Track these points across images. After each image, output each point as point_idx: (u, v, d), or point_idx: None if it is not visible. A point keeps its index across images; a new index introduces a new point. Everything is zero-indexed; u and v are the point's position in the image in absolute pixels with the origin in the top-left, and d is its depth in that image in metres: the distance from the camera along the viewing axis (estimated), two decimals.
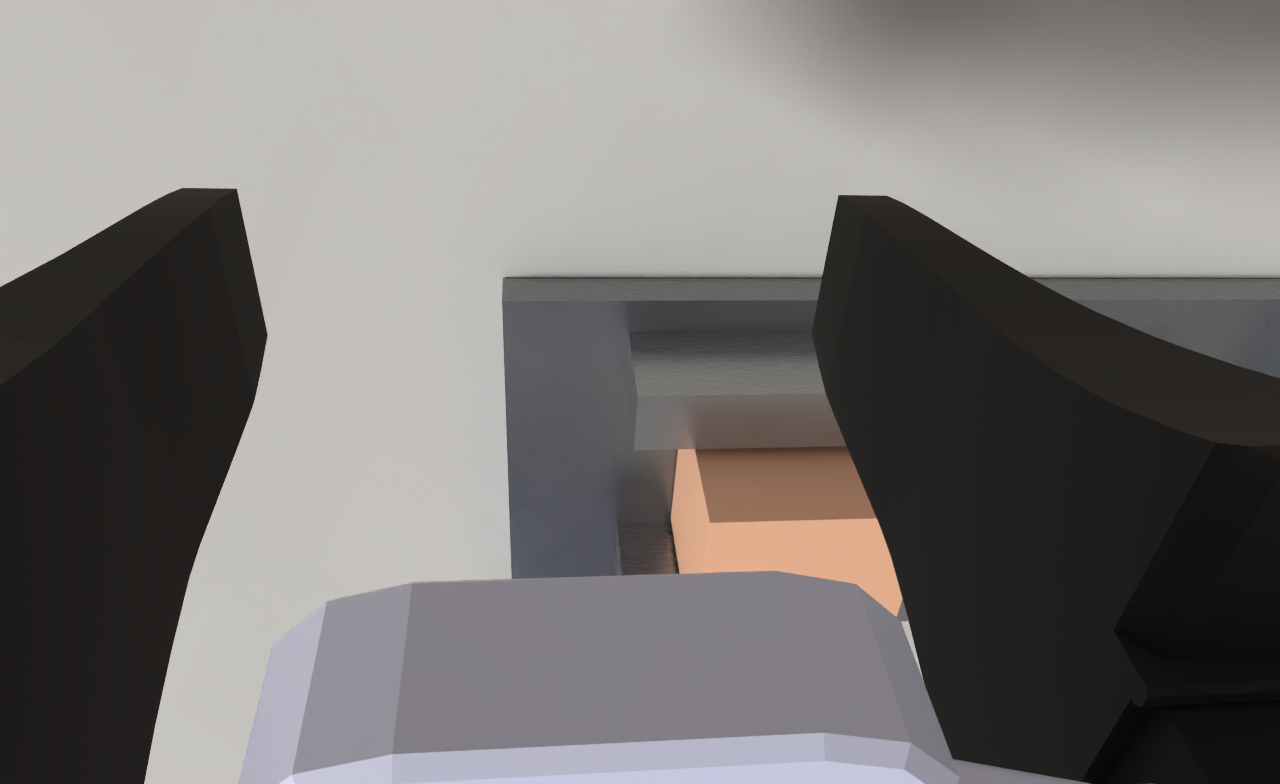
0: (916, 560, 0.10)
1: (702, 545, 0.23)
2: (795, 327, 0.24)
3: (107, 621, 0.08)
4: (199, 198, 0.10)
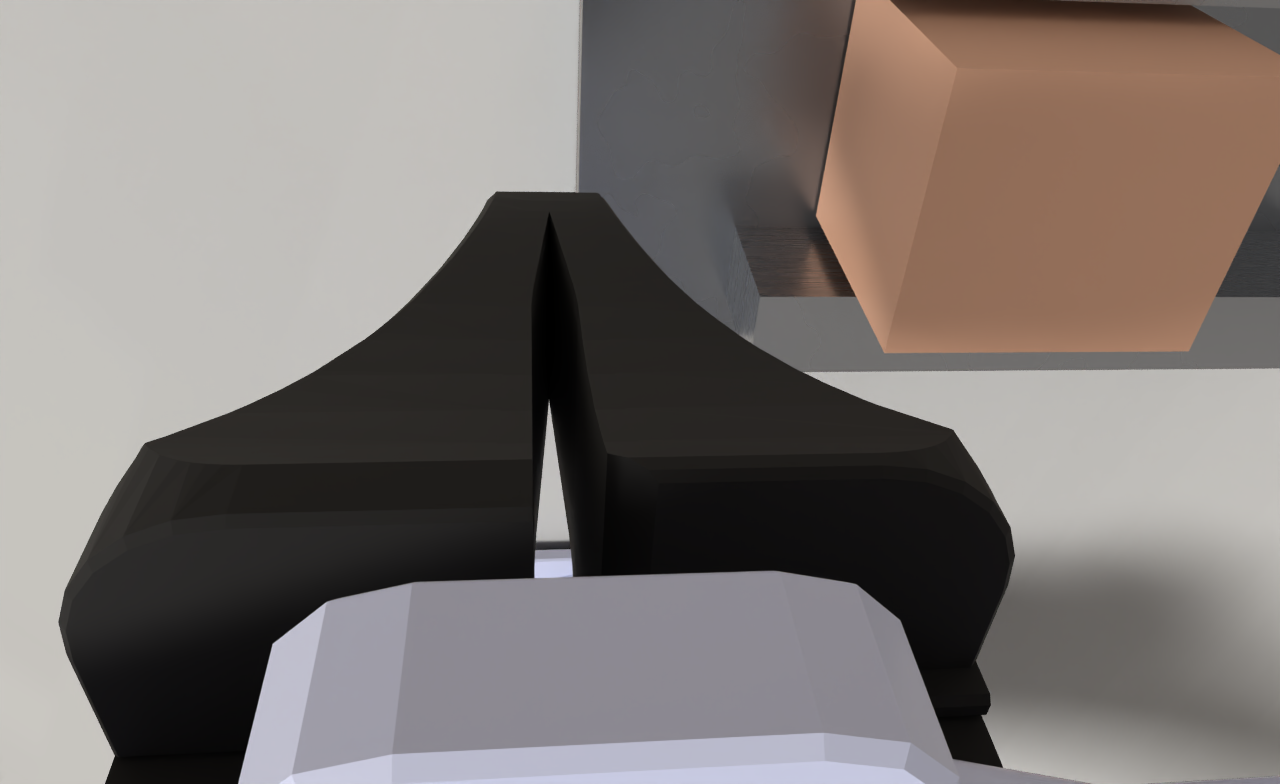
0: (575, 571, 0.10)
1: (925, 141, 0.13)
2: None
3: None
4: (529, 201, 0.11)
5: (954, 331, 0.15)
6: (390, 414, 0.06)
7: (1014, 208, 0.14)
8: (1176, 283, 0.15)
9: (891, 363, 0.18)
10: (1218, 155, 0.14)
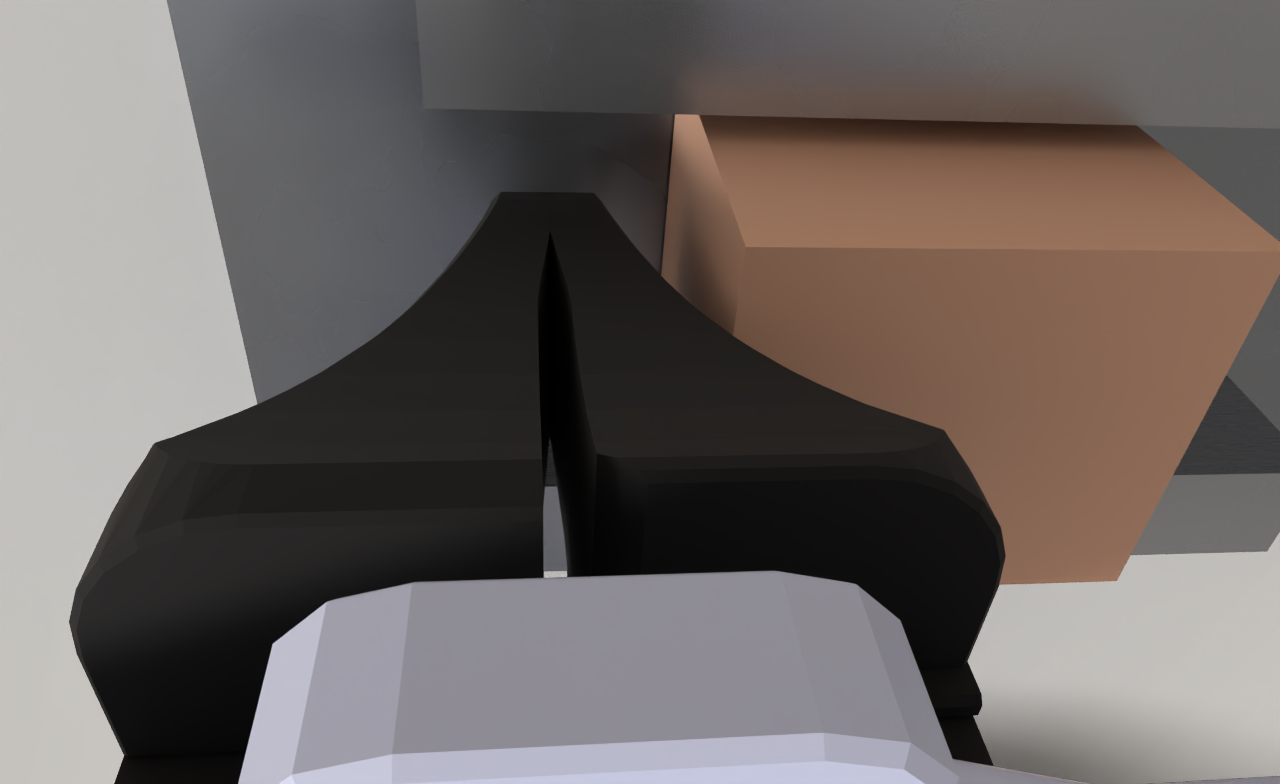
0: (569, 571, 0.10)
1: None
2: None
3: None
4: (533, 201, 0.11)
5: None
6: (398, 414, 0.06)
7: None
8: (1095, 505, 0.11)
9: None
10: (1145, 351, 0.09)
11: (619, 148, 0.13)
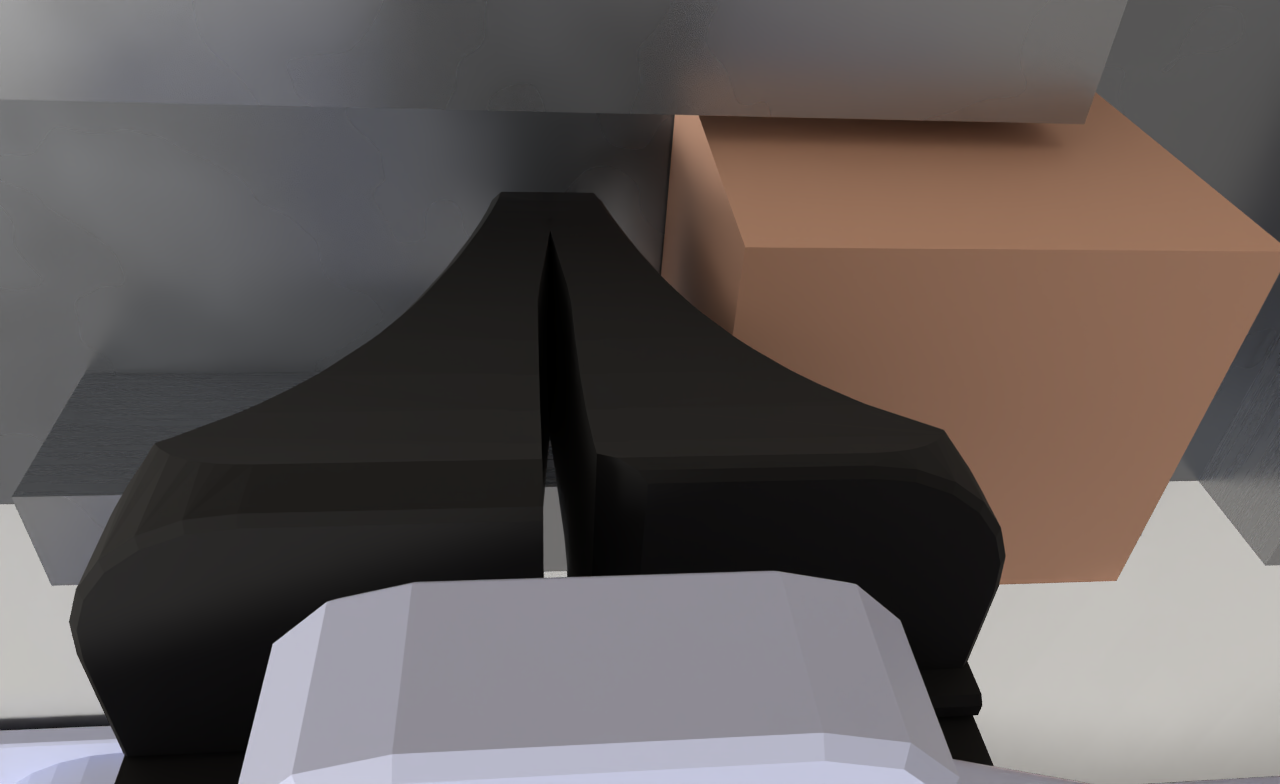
0: (569, 571, 0.10)
1: None
2: None
3: None
4: (533, 201, 0.11)
5: None
6: (398, 412, 0.06)
7: None
8: (1095, 504, 0.11)
9: None
10: (1144, 351, 0.09)
11: (188, 140, 0.12)
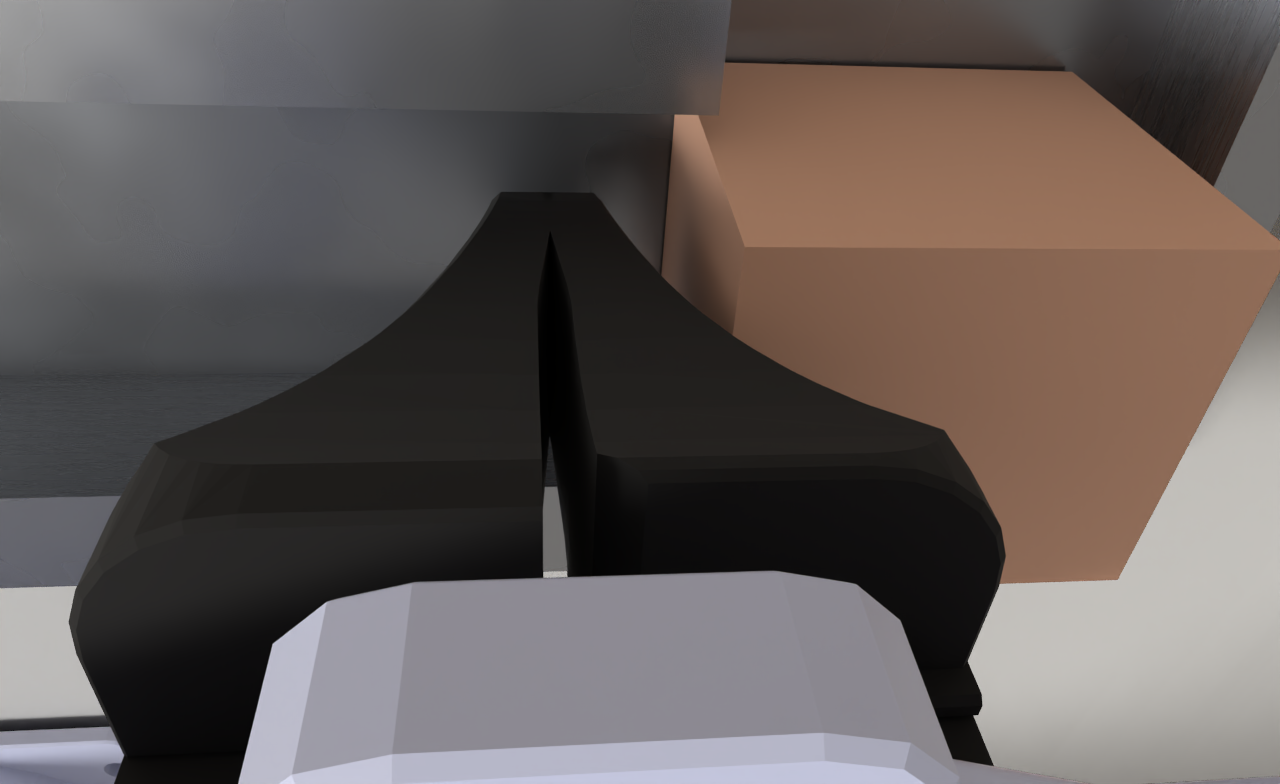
0: (569, 571, 0.10)
1: None
2: None
3: None
4: (533, 201, 0.11)
5: None
6: (398, 412, 0.06)
7: None
8: (1095, 504, 0.11)
9: None
10: (1145, 350, 0.09)
11: None
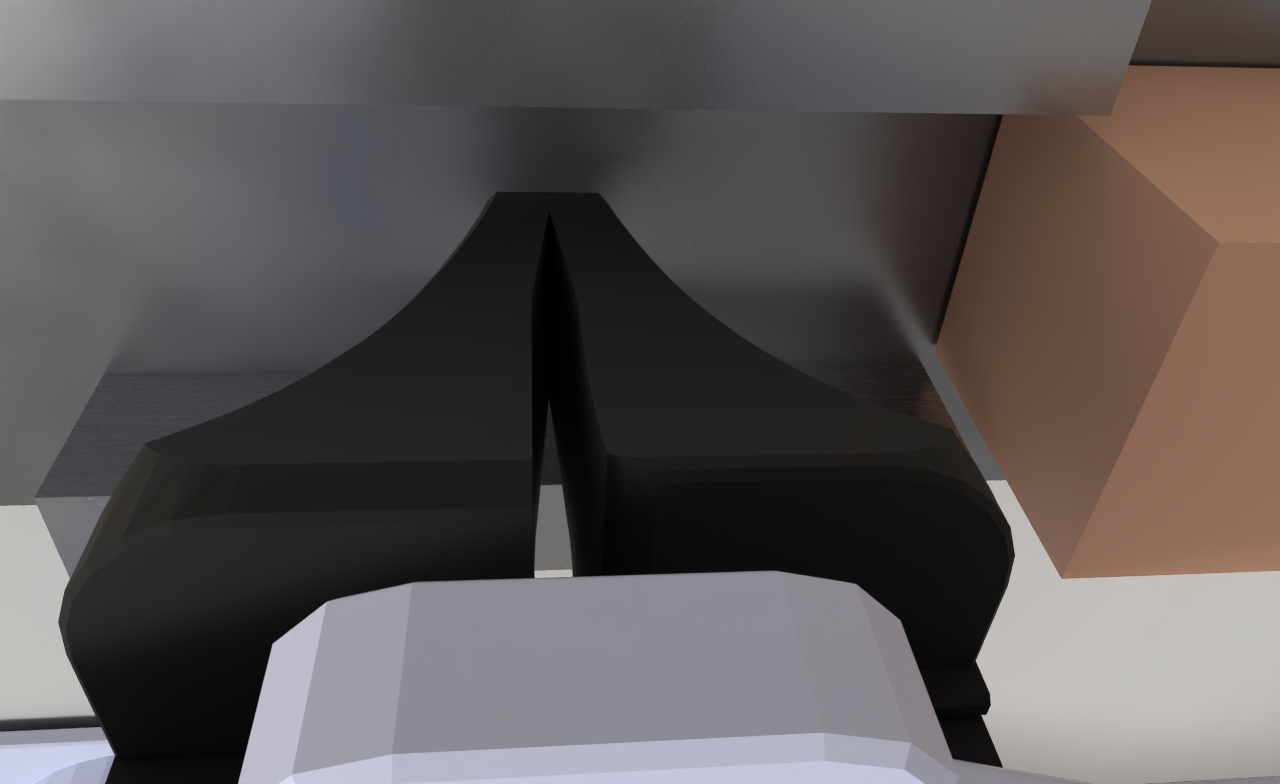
0: (575, 570, 0.10)
1: (1148, 325, 0.10)
2: None
3: None
4: (528, 201, 0.11)
5: (1157, 552, 0.11)
6: (388, 414, 0.06)
7: (1263, 411, 0.10)
8: None
9: None
10: None
11: (207, 140, 0.12)
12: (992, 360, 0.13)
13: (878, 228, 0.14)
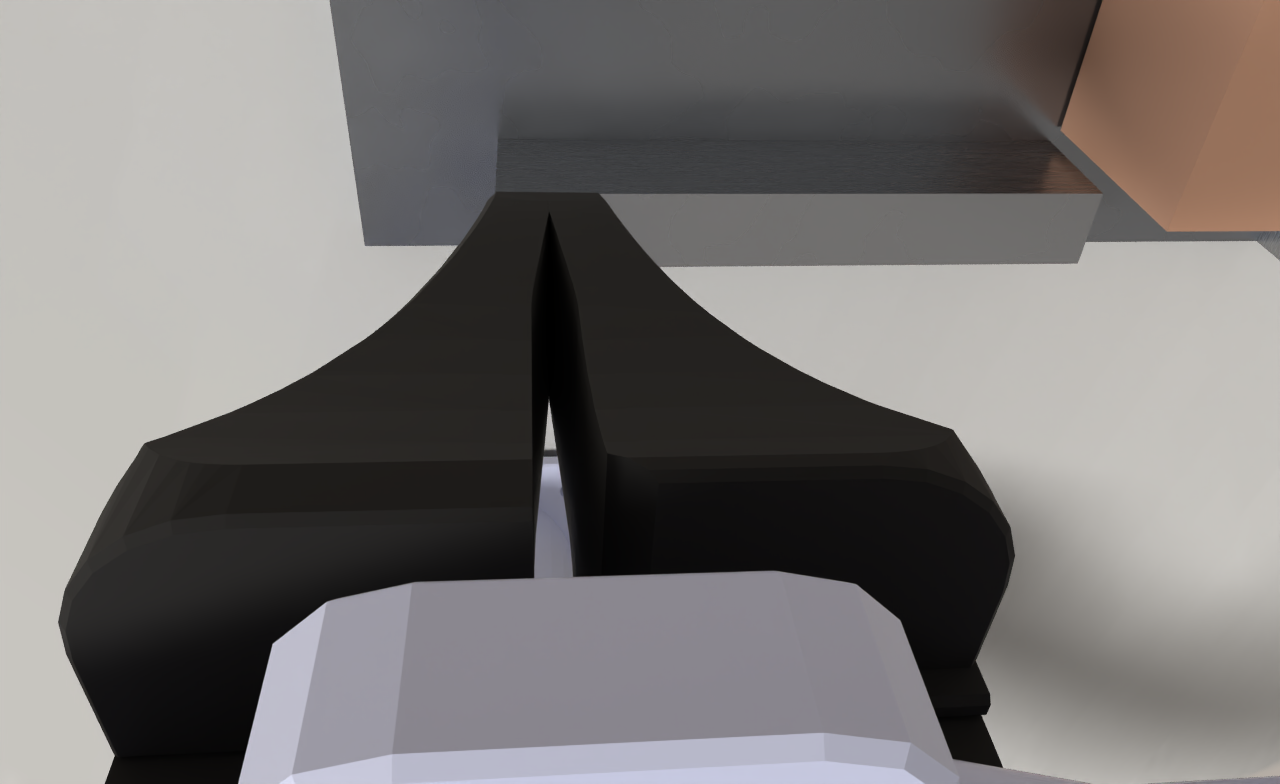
0: (575, 570, 0.10)
1: (1228, 43, 0.16)
2: None
3: None
4: (529, 201, 0.11)
5: (1228, 211, 0.18)
6: (390, 414, 0.06)
7: None
8: None
9: None
10: None
11: None
12: (1111, 114, 0.19)
13: (1030, 32, 0.20)
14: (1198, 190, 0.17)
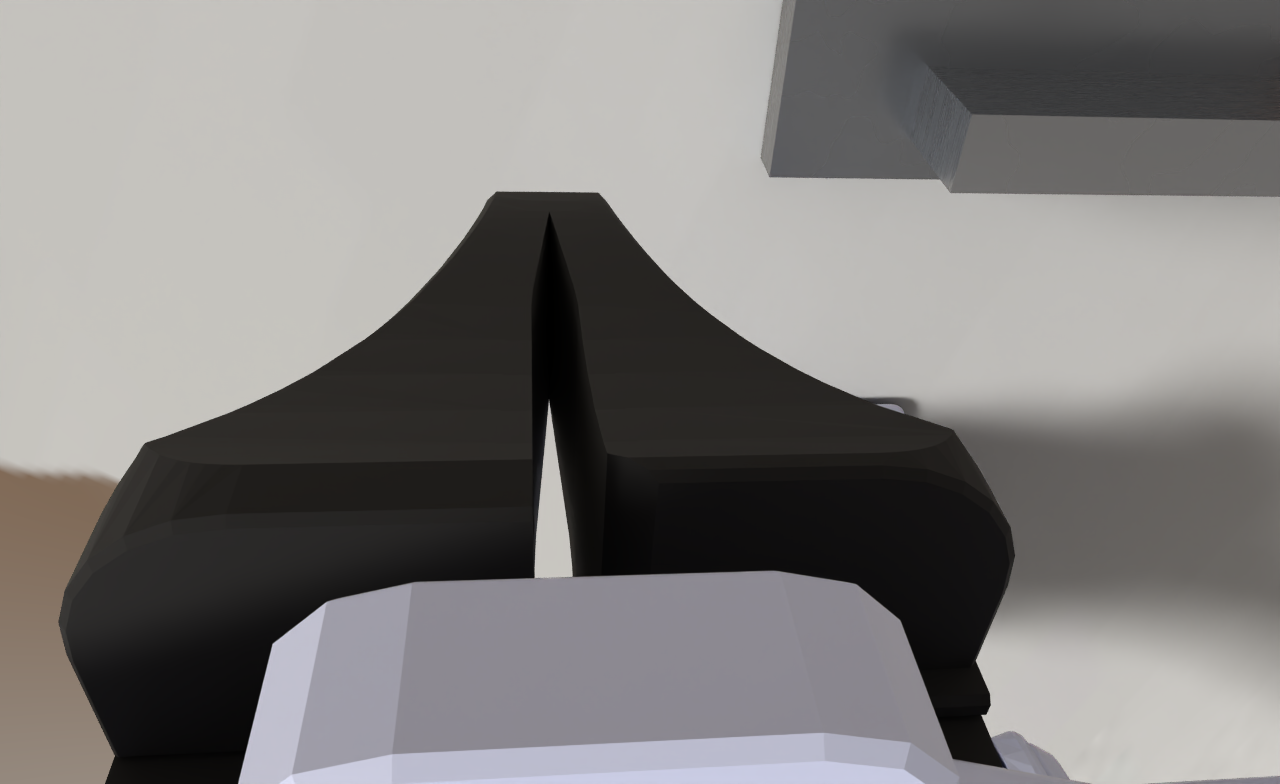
0: (575, 570, 0.10)
1: None
2: None
3: None
4: (529, 201, 0.11)
5: None
6: (390, 412, 0.06)
7: None
8: None
9: (1079, 186, 0.19)
10: None
11: None
12: None
13: None
14: None
